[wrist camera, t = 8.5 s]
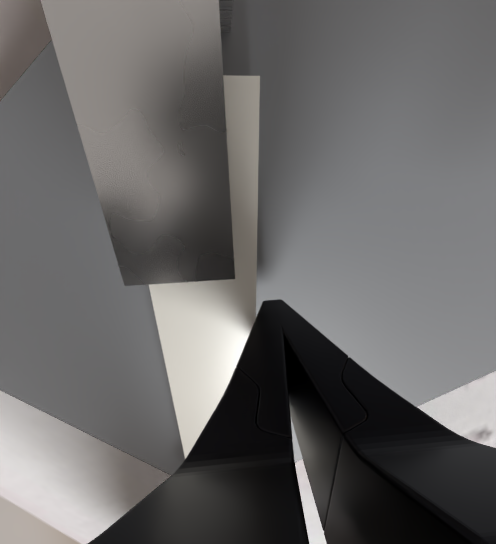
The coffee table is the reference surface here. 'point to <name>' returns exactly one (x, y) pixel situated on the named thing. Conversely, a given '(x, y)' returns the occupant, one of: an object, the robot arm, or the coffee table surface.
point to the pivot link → (216, 283)
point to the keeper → (153, 129)
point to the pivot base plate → (276, 215)
